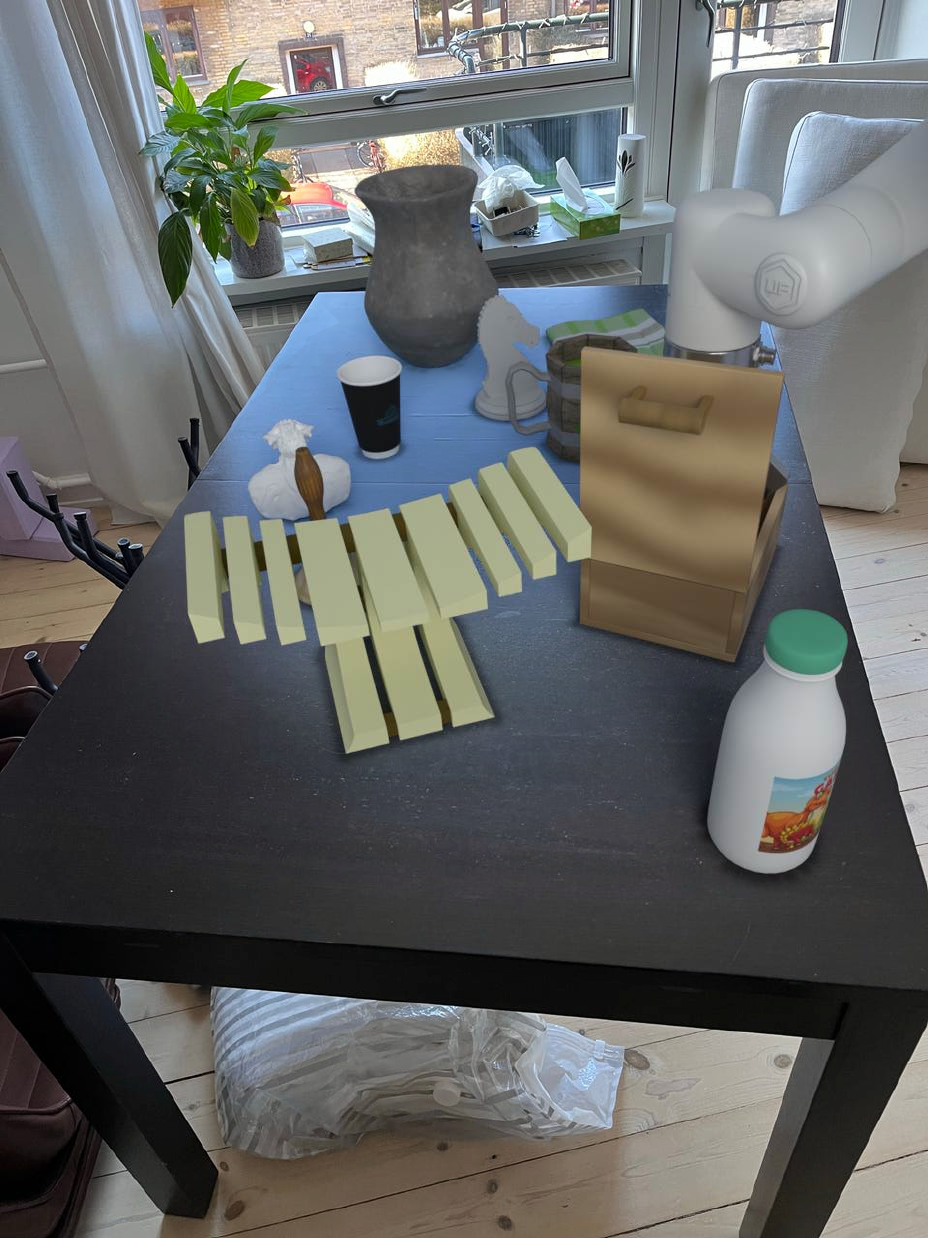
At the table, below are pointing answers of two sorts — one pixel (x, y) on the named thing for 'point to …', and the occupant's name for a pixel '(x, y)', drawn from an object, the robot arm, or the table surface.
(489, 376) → the chess piece
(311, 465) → the hand bell
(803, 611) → the milk bottle
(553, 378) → the mug
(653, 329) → the dish towel
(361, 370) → the dixie cup
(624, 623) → the box
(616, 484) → the lid
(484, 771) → the table surface
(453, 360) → the vase
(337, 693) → the slatted curved stool
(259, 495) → the white tied sack
